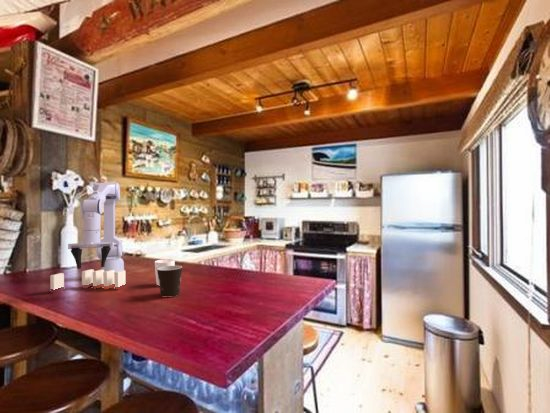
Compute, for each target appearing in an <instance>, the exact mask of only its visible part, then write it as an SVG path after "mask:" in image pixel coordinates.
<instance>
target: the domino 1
mask: <svg viewBox="0 0 550 413" xmlns="http://www.w3.org/2000/svg"><path fill="white" fill-rule="evenodd" d="M49 282H50V284H49V285H50V289H53V290H55V289H58V288H61V287H64V288H65V273H64V272H63V273H62V272H59V273H55V274H51V275H50V280H49ZM50 289H49V290H50Z"/></svg>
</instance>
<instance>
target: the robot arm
mask: <svg viewBox="0 0 550 413" xmlns="http://www.w3.org/2000/svg"><path fill="white" fill-rule="evenodd" d="M120 199H121V186H120V184H119V182H95V183H94V184H93V190H92V193H90V195H89V196H88V198H87V199H83V200H81V203H80V212H81V219H82V242H79V243H77V242H76V243H68V244H67V250H70V252H71V253H70V254H71V255H72V256H73V258H74V261H75V264H76V268H77V270H80V269H82V253H83V249H96V256H97V258H98V259H99V260H100V267H101V268H100V270H104V272H106V271H109V270H115V272H117V271H121V270H125V261H124V260H123V258H122V256H123V244H122V243H123V242H122V240H121V239H119V238H118V237H116V204H117V202H119V201H120ZM102 214H103V238H102V239H101V225H102V224H101V222H102V221H101V220H102V218H101V217H102V216H101V215H102Z"/></svg>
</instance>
